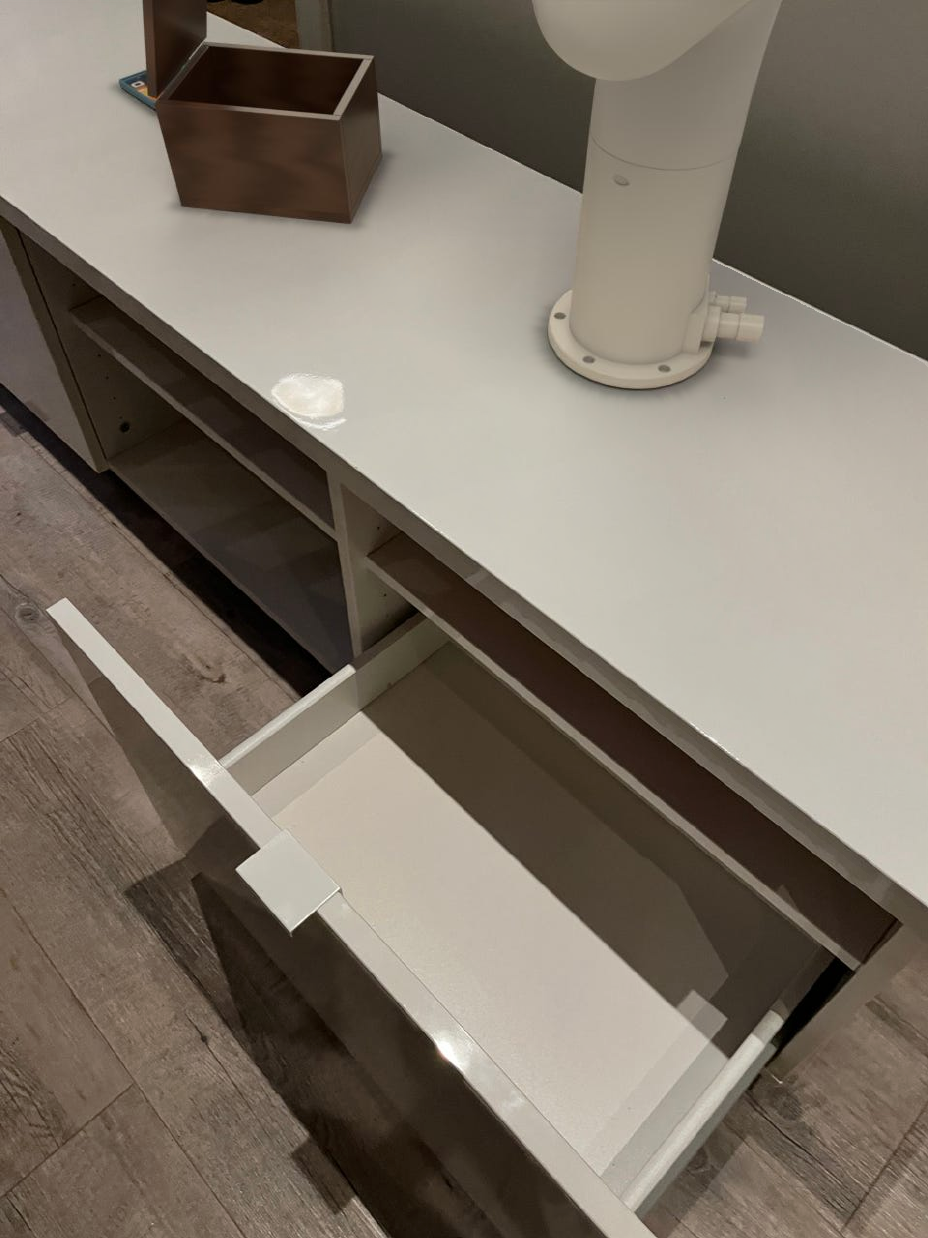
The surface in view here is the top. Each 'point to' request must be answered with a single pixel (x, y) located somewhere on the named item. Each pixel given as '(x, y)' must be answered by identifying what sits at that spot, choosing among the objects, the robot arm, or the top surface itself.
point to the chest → (273, 130)
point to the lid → (171, 38)
